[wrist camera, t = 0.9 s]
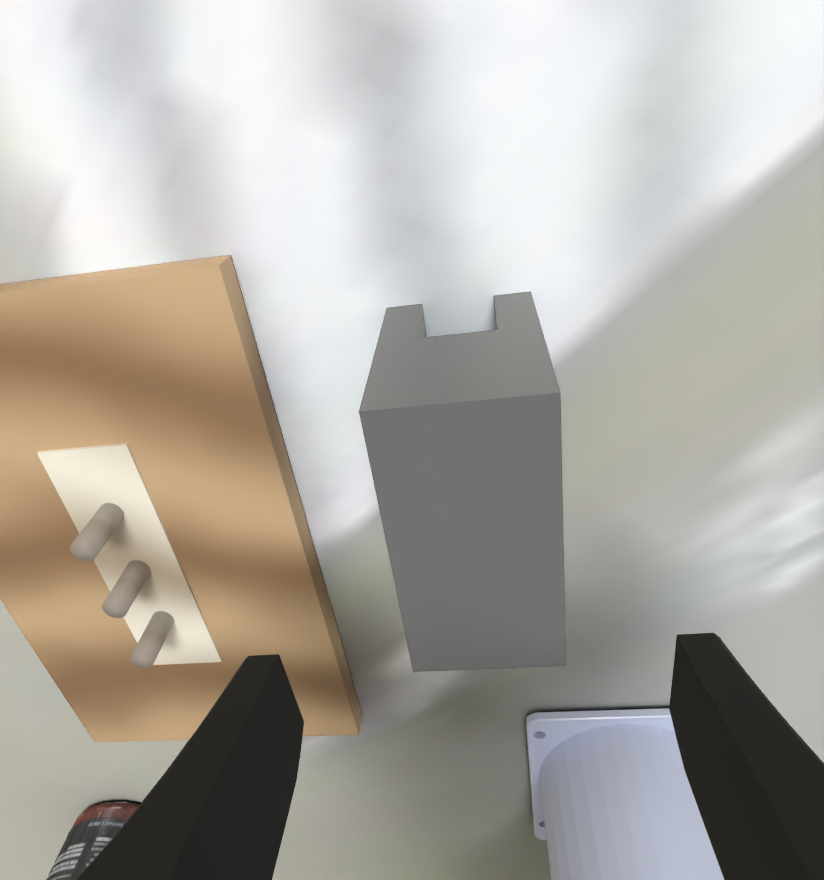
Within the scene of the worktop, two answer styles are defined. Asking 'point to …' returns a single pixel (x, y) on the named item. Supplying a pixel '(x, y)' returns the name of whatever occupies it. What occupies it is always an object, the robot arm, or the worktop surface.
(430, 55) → the worktop surface
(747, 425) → the worktop surface
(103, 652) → the pin board
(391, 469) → the block
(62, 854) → the supplement bottle
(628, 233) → the worktop surface
